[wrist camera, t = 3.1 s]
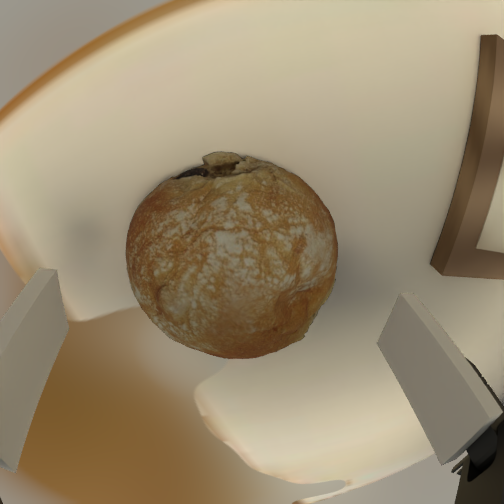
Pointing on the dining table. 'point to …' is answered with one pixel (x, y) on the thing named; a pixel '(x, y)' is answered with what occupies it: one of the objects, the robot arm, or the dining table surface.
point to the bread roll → (232, 257)
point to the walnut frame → (479, 181)
